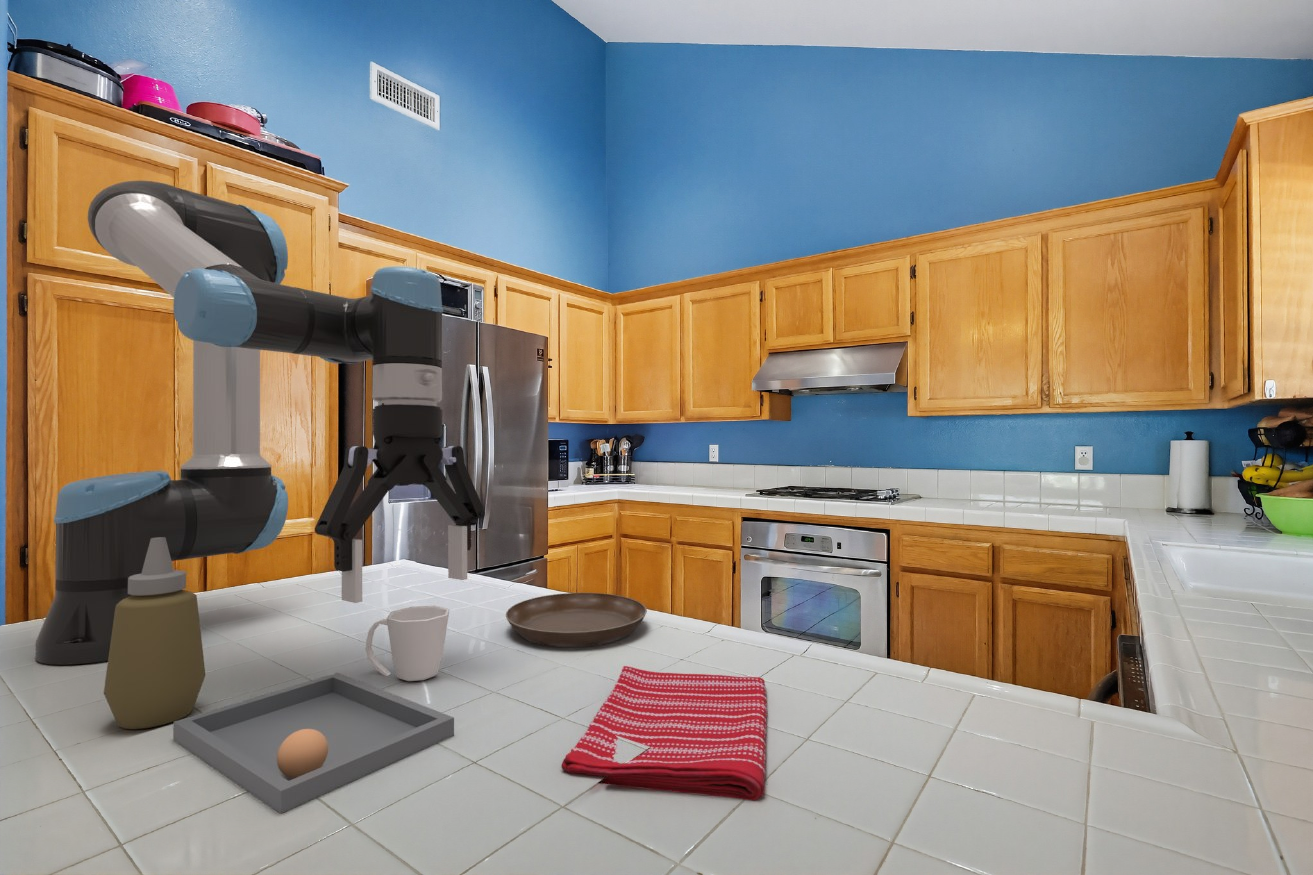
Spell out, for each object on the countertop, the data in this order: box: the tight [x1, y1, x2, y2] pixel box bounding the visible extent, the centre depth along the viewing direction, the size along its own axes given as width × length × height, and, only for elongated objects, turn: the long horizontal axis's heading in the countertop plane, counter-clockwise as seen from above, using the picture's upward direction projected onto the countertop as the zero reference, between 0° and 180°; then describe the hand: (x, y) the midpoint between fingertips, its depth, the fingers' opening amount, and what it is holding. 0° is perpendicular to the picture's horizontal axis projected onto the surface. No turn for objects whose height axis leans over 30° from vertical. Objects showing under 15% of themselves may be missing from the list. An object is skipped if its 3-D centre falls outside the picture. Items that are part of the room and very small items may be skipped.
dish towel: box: [560, 665, 768, 801], centre depth 61 cm, size 17×24×3 cm
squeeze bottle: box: [103, 537, 206, 730], centre depth 64 cm, size 8×8×18 cm
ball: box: [277, 729, 328, 779], centre depth 51 cm, size 4×4×4 cm
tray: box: [172, 672, 455, 815], centre depth 58 cm, size 20×15×2 cm
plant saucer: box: [505, 592, 648, 648], centre depth 94 cm, size 21×21×3 cm
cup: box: [365, 605, 451, 682], centre depth 73 cm, size 7×10×8 cm
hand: (408, 589), depth 73 cm, fingers open, 13 cm apart
